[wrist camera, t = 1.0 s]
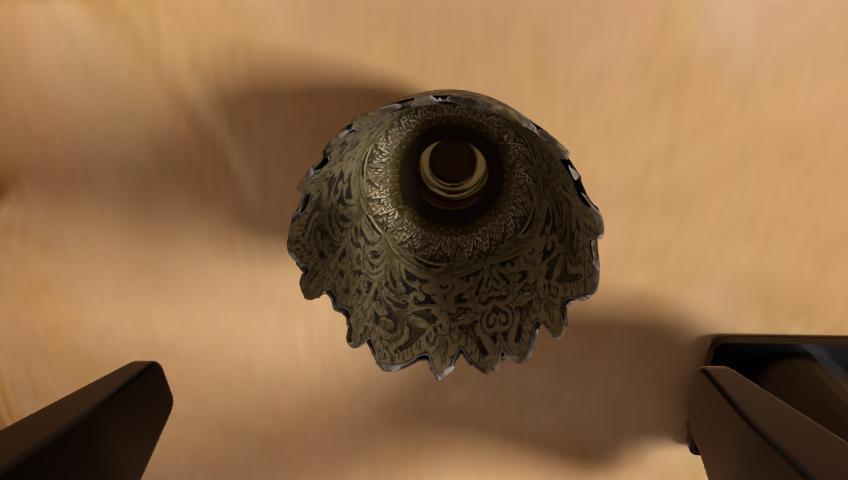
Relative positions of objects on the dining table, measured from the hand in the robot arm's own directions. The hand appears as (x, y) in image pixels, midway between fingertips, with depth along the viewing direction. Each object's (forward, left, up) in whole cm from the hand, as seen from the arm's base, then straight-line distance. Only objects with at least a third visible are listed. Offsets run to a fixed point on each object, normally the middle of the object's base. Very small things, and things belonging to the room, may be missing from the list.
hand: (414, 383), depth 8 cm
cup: (0, 0, -12) cm, 12 cm away
